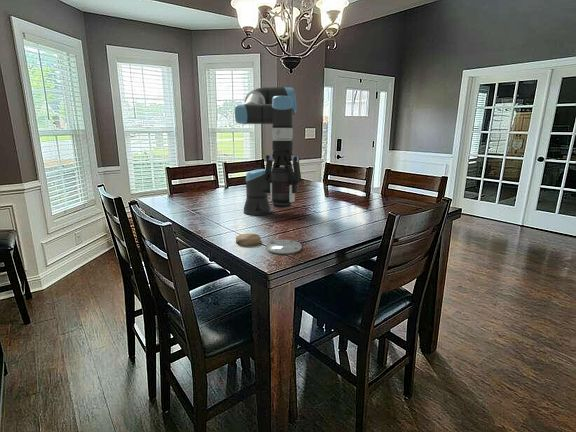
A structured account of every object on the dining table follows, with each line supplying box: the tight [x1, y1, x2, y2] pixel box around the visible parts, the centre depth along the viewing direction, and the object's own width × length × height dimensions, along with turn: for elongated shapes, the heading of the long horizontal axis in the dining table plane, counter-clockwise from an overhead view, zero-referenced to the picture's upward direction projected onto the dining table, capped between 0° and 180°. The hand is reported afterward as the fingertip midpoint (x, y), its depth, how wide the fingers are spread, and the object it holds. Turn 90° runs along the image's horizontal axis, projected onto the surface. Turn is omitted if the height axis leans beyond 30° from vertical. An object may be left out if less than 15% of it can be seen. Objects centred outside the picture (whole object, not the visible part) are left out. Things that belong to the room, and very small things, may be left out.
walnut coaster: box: [235, 233, 262, 247], centre depth 139 cm, size 10×10×2 cm
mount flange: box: [265, 239, 303, 256], centre depth 133 cm, size 14×14×1 cm
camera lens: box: [271, 167, 292, 209], centre depth 130 cm, size 8×8×15 cm
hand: (282, 200), depth 131 cm, fingers closed on camera lens, 8 cm apart
